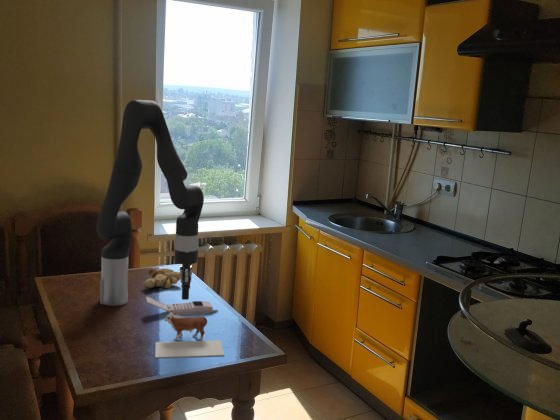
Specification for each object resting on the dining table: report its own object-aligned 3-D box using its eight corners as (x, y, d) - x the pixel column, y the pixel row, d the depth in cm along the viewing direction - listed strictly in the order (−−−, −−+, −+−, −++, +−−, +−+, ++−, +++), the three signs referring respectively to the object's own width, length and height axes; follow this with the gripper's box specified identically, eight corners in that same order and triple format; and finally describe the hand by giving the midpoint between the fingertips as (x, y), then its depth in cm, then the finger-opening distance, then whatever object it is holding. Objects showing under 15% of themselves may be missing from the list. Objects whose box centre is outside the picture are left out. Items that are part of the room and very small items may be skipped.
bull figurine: (164, 334, 171) (164, 310, 169) (206, 336, 172) (207, 312, 170) (162, 340, 166) (163, 315, 165) (206, 341, 168) (207, 317, 166)
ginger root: (180, 274, 227) (180, 258, 224) (183, 295, 214) (183, 278, 210) (142, 276, 223) (141, 259, 220) (142, 298, 209) (142, 280, 206)
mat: (155, 358, 155) (155, 357, 155) (155, 343, 164) (155, 342, 164) (224, 355, 159) (224, 354, 159) (220, 341, 169) (220, 340, 169)
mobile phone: (145, 296, 188) (215, 292, 196) (144, 312, 189) (214, 307, 197) (146, 302, 182) (219, 298, 190) (146, 318, 183) (218, 313, 191)
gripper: (174, 242, 178) (173, 292, 181) (175, 252, 166) (174, 306, 169) (197, 242, 180) (195, 292, 183) (199, 252, 167) (198, 305, 170)
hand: (185, 298), depth 176 cm, fingers closed
